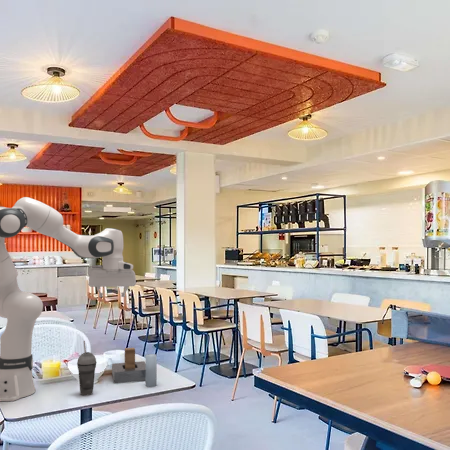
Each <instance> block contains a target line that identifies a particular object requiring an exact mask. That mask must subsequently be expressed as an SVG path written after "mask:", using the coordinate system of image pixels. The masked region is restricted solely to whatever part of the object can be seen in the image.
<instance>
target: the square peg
mask: <svg viewBox="0 0 450 450" xmlns="http://www.w3.org/2000/svg"><path fill="white" fill-rule="evenodd" d="M135 362H136V348H135V347H124V363H125V369H129V368H135Z"/></svg>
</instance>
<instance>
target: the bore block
mask: <svg viewBox="0 0 450 450" xmlns="http://www.w3.org/2000/svg"><path fill="white" fill-rule="evenodd" d="M111 375H112V379H113V383H114V384H121V383H122V384H123V383H131V382H132V383H134V382H136V383H137V382H144V381H145V382H146V361H144V360H143V361H135V368H129V369H125V362H117V363H112V364H111Z"/></svg>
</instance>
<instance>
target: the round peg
mask: <svg viewBox="0 0 450 450" xmlns="http://www.w3.org/2000/svg"><path fill="white" fill-rule="evenodd" d="M157 360H158V359H157V354H156V353H152V354H151V353H150V354H146V355H145V364H146V381H145V384H144V385H145V387H147V388H155V387H156V386H157V384H158V383H157V379H158V378H157V370H158V369H157V363H158V362H157Z"/></svg>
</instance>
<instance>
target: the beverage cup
mask: <svg viewBox="0 0 450 450" xmlns="http://www.w3.org/2000/svg"><path fill="white" fill-rule="evenodd" d="M86 348H87V347H86V340H83V349H84V352H82V353H81V354H80V355H79V356H78V358H77V363H76V365H77V370H78V381H79V392H80V396H91V395H93V393H94V386H95V385H94V384H95V373H96V368H97V358H96V356H95V355H94V354H93V353H92V352H89V351H88V352H87V351H86Z"/></svg>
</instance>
